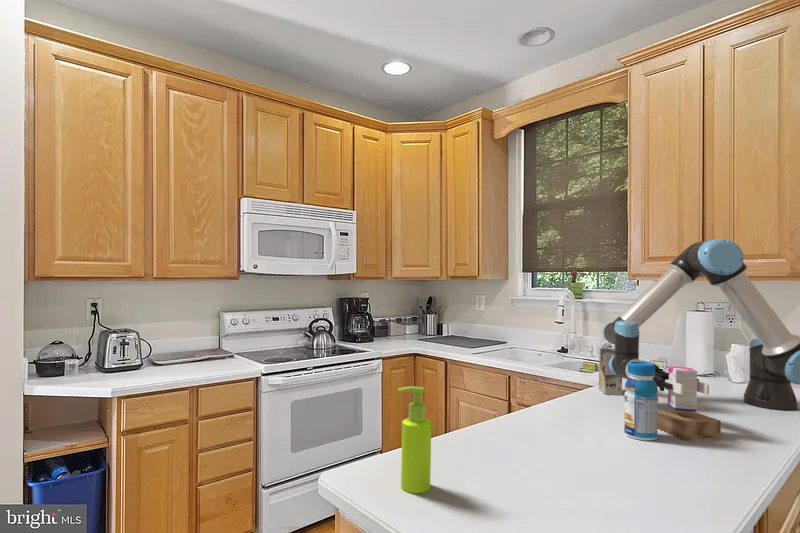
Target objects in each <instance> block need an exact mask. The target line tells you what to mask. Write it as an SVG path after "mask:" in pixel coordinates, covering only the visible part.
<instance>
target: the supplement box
mask: <svg viewBox="0 0 800 533" xmlns="http://www.w3.org/2000/svg"><path fill="white" fill-rule="evenodd" d="M668 373H669V380H670V381H673V382H676V383H680V384H683V395H680V394H678V393H675V392H672V391H669V390H667V391H668V393H667V405H668V407H670V408H671V409H672V410H678V411H693V412H696V413H697V408H698V407H697V406H698V405H697V400H698V399H697V398H698V394H697V393H698V392H697V379H698V371H697V370H696V369H693V368H691V367H685V366H670V365H669V366H668Z"/></svg>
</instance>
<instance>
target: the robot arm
mask: <svg viewBox="0 0 800 533" xmlns="http://www.w3.org/2000/svg"><path fill="white" fill-rule="evenodd" d="M744 258H745V255H744V252H743V250H742V248H741V247H740V246H739V244H737V243H736V242H734V241H732V240H729V239H724V238H712V239H708V240H705V241H698V242H693V243H692V244H690V245H689V246H688V247H686V248H685V249H684V250H683V251H682V252H681V253H680V254H679V255H678V256H677V257H676V258H675V259H674V260H672V262H671V263H670V264H668V270H666V271H665V272H664V273H663V274H662V275H661V276H660V277H659V278H658V279H657V280H656V281H655V282H654V283H652V285H651V286H649V287H648V289H646V290H645V291H644V292H643V293H642V294H641V295H640V296H639V297H638V298H637V299H636V300H635V301H634V302H632V304H630V305H629V306H628V307H627V308H626V309H625V310H624V311H622V313H621V314H619V315H618V316H617V318H615V319H614V320H613V321H612V322H608V323H607V324H605V325H604V327H602V328H603V329H602V335H603V338H604V339H605V340H606V341H607V342H608V343H610V344H613V345H614V349H615V355H613V356H612V357H611V359H610V361H609V368H610V370H611V372H612V373H614V374H615V375H617V376H619V377H621V378H622V379H625V380H627V379H628V378H629V377H630V375H629V374H628V362H631V361H640V362H648V361H646V360H643V359H639V358H640V357H639V356H640V355H639V354H640V351H639V350H640V334H641V332H640V327H641V326H642V325H644V324H645V322H646V321H648V320H649V319H650V318H651V317H652V316H653V315H654V314H656V312H657V311H659V310H660V309H661V308H662V307H663V306H664V305H665V304H666V303H667V302H668V301H669V300H670V299H672V298H673V297H674V296H675V295H676V294H677V293H678V292H679V291H680V290H681V289H682V288H684V286H686V285H687V284H688V285H689V284H692V283H694V281H696V280H697V279H698V278H700V277H702V276H704V277H705V279H706V280H707V282H708V283H709V284H710V286H712V287H718V288H719V290H721V292H722V293H723V295H725V297H726V298H727V300H728V301H729V302H730V304H732V307H734V309H735V310H736V312H737V313H738V314H739V316H740V317H741V318H742V320H743V321H744V322H745V324H746V325H747V326H748V328H749V329H750V330H751V332H752V333H753V334H754V335H755V337H756V338H754V339H751V340H750V342H749V348H748V351H749V381H748V383H747V386H746V388H745V390H744V393H743V402H744V403H745V404H747V405H752V406H755V407H758V408H759V407H760V408H765V409H771V410H772V409H773V410H778V411H779V410H780V411H795V410H797V409H798V407H799V406H798V400H797V397H796V395H795V394H796V393H795V392H794V389H793V386H792V384H793V385H798V386H799V385H800V335H798V334H793V333H791V332H790V330H789V329H788V328H787V327H786V325H785V324H784V322H783V321H782V320H781V318H780V317H779V316H778V315H777V313H776V312H775V310H774V309H773V308H772V306H771V305H770V304H769V302H767V300H766V298H765V297H764V296H763V295H762V293H761V292H760V291H759V290H758V288H757V286H756V285H755V284H754V283H753V282H752V281H751V279H750V278H749V277H748V275H747V270H748V266H747V265H746V263H745V262H744ZM648 363H652V364H654V365H655V376H654V377H652V378H653V380H654V381H655V383H656V385H657V388H658V389H659V391H660V392H665V390H666V391H668V390H669V391H672V392H675V393H678V394H680V395H683V384H680V383H676V382H673V381H670V380H669V372H666V371H664V370H661V368H660V367H659V366H658V365H657V364H655V363H653V362H648ZM697 393H701V394H704V395H710V384H709V383H705V382H701V381H700V379H699V378H697Z"/></svg>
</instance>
